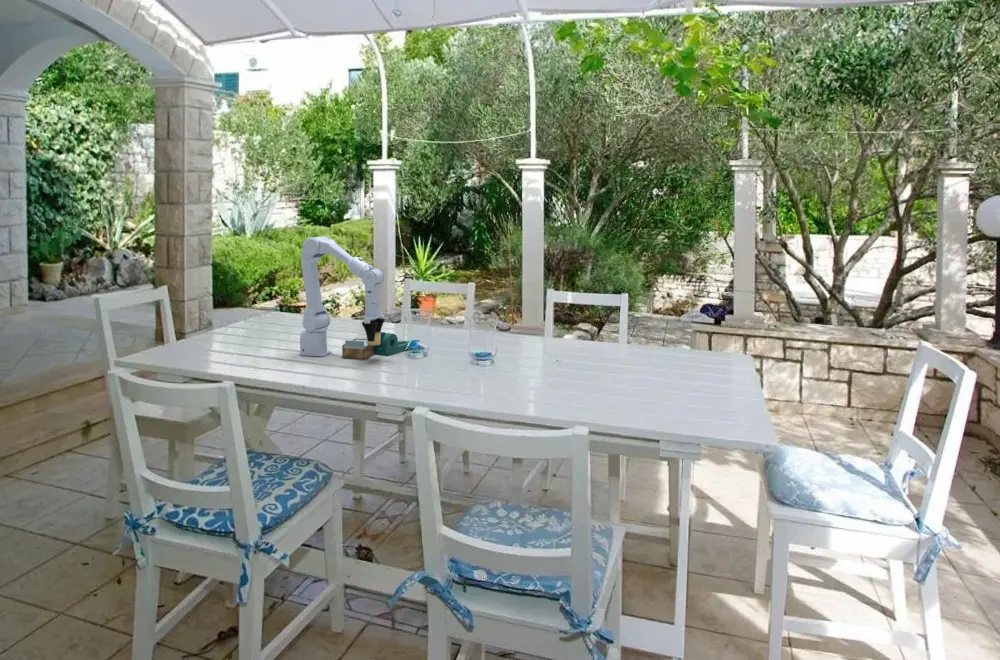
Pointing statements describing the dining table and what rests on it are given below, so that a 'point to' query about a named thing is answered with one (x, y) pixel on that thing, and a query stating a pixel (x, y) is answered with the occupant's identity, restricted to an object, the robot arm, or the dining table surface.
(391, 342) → the bracket
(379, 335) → the tape roll
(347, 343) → the lid
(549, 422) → the dining table surface
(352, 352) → the pencil box
